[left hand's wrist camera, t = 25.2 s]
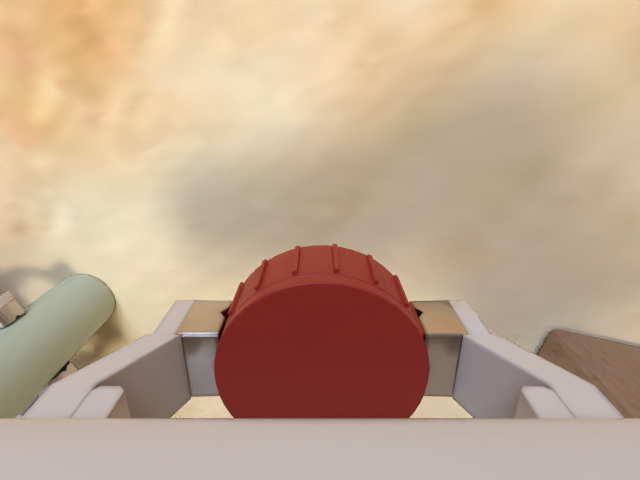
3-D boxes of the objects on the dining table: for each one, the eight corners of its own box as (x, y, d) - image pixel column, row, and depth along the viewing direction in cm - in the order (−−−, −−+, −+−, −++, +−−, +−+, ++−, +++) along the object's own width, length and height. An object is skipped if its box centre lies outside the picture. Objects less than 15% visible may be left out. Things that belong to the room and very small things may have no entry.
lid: (373, 413, 11) (383, 475, 10) (211, 372, 11) (190, 430, 9) (443, 275, 10) (472, 318, 8) (255, 218, 9) (239, 250, 7)
